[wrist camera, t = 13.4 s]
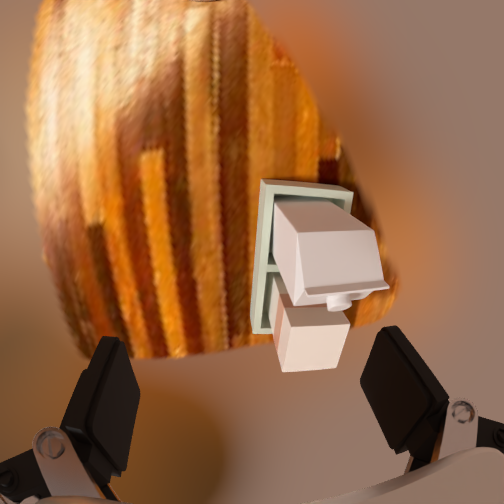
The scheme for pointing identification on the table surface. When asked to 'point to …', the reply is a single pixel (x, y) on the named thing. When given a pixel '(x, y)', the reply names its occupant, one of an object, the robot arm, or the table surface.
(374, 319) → the table surface
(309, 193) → the crate
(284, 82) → the table surface
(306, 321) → the oat carton
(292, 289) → the milk carton
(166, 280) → the table surface
